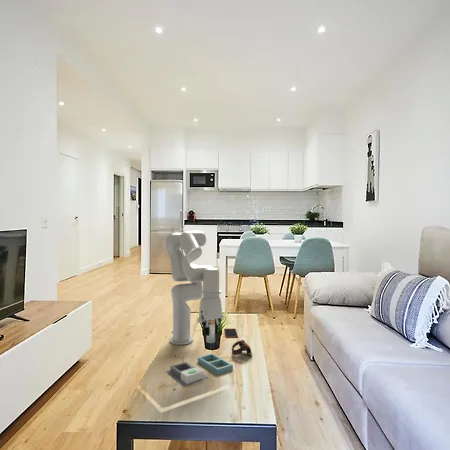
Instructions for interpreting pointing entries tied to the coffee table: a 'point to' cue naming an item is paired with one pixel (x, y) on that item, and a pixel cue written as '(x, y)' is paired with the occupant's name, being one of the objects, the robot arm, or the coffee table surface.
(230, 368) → the teal rectangular open box
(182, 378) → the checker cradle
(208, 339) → the test cell
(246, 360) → the coffee table surface
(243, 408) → the coffee table surface
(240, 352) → the brown arched frame
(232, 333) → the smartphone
